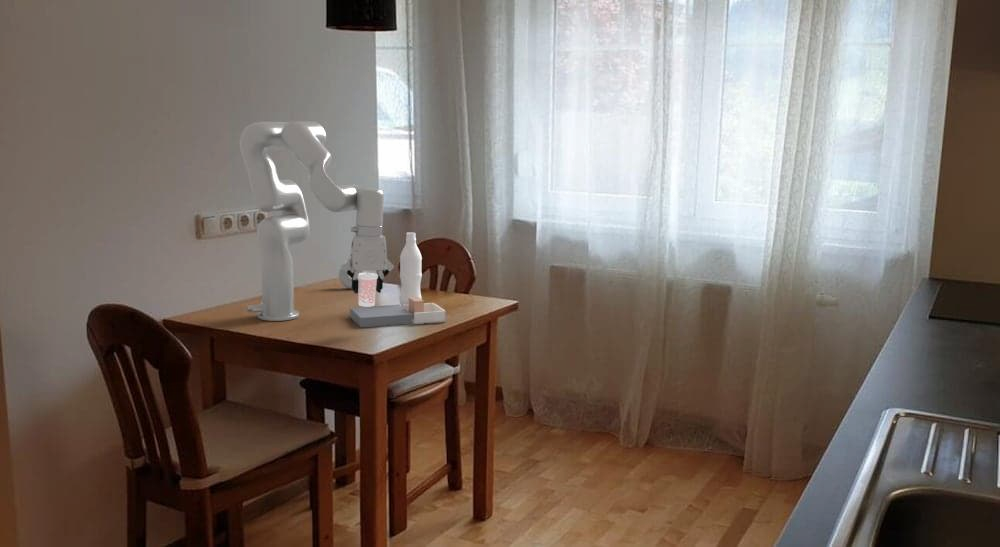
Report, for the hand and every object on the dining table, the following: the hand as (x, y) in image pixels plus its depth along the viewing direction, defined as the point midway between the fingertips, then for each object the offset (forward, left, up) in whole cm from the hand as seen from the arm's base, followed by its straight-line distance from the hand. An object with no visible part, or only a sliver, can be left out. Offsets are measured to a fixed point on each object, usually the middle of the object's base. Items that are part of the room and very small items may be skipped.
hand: (367, 291), depth 260 cm
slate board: (+8, +13, -12) cm, 20 cm away
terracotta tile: (+17, +12, -9) cm, 22 cm away
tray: (+21, +11, -12) cm, 27 cm away
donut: (+11, +62, -12) cm, 64 cm away
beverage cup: (0, 0, -4) cm, 4 cm away
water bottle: (+22, +27, -12) cm, 37 cm away
